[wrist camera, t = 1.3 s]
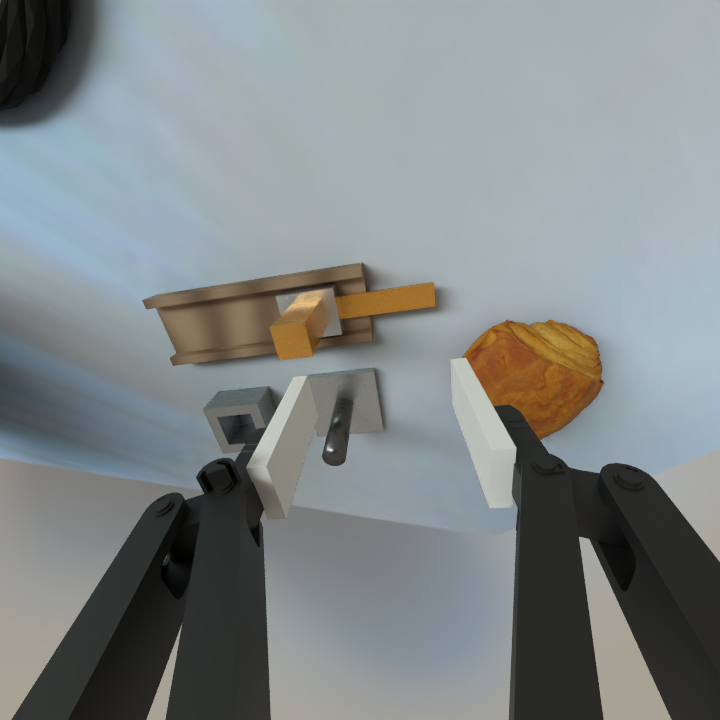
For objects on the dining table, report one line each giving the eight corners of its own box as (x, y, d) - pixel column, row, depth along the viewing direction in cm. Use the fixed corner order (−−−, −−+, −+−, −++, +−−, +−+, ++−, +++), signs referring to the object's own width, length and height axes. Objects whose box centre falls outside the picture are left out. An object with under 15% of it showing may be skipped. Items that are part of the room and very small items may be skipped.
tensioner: (292, 334, 35) (266, 372, 27) (281, 291, 33) (248, 318, 25) (435, 316, 33) (452, 350, 25) (432, 268, 31) (450, 290, 23)
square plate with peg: (318, 431, 43) (302, 490, 34) (303, 375, 39) (279, 425, 30) (383, 426, 41) (383, 486, 32) (374, 367, 38) (371, 417, 29)
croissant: (593, 352, 37) (655, 378, 30) (503, 441, 41) (538, 484, 34) (511, 281, 34) (557, 291, 26) (421, 386, 38) (440, 421, 31)
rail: (184, 356, 39) (173, 365, 36) (156, 294, 35) (142, 300, 33) (372, 333, 36) (372, 341, 33) (362, 262, 32) (360, 266, 30)
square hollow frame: (236, 433, 44) (223, 453, 40) (218, 391, 41) (202, 409, 37) (282, 429, 43) (273, 449, 39) (268, 386, 40) (257, 403, 36)
